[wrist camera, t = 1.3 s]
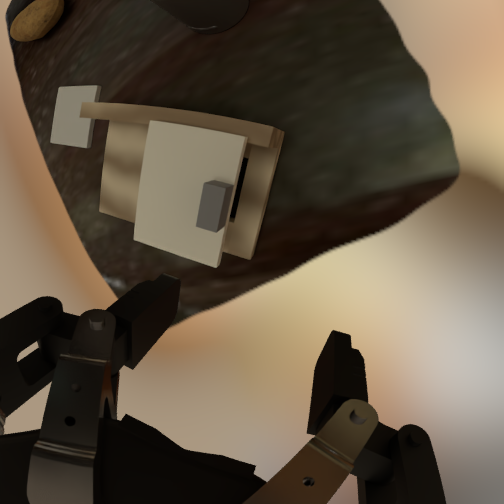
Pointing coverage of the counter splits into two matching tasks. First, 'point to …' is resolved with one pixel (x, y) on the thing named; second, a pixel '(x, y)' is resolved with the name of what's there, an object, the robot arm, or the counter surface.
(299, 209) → the counter surface
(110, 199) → the puzzle board
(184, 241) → the cover
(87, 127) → the mat
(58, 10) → the potato
